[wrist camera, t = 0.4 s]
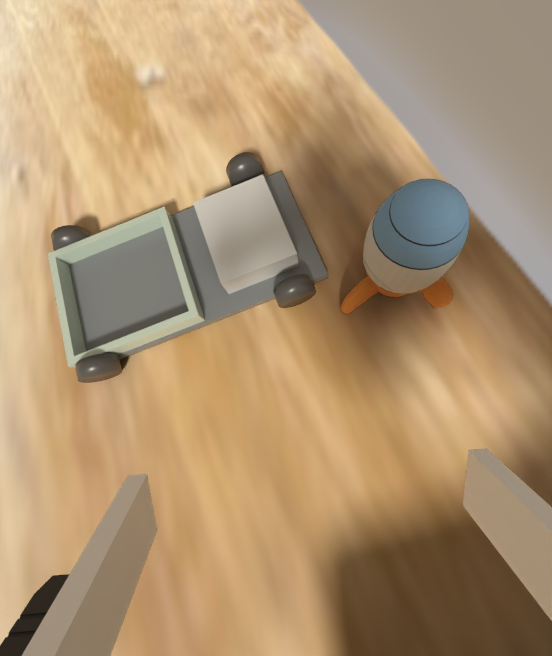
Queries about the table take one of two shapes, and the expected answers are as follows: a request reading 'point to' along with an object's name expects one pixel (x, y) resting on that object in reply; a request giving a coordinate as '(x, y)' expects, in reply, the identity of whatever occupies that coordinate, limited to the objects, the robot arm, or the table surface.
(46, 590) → the robot arm
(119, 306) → the toy truck
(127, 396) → the table surface
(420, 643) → the table surface
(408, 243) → the toy rocket
